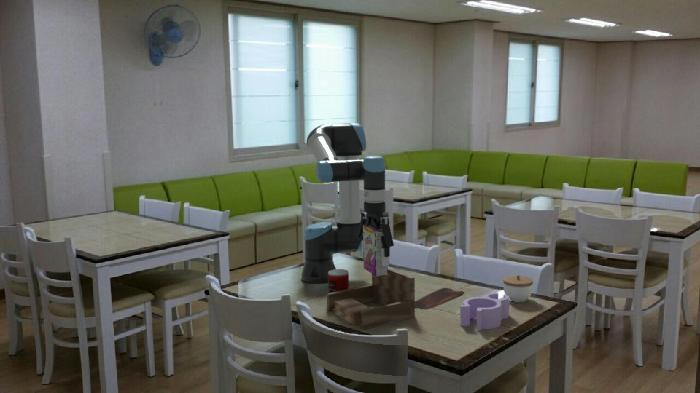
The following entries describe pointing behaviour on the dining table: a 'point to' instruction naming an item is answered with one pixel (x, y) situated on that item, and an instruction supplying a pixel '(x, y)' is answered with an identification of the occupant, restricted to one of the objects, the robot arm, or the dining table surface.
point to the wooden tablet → (437, 298)
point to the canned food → (338, 280)
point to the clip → (485, 311)
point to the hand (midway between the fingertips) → (375, 261)
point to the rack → (382, 298)
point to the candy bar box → (373, 251)
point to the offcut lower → (354, 322)
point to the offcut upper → (350, 308)
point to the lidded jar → (518, 287)
